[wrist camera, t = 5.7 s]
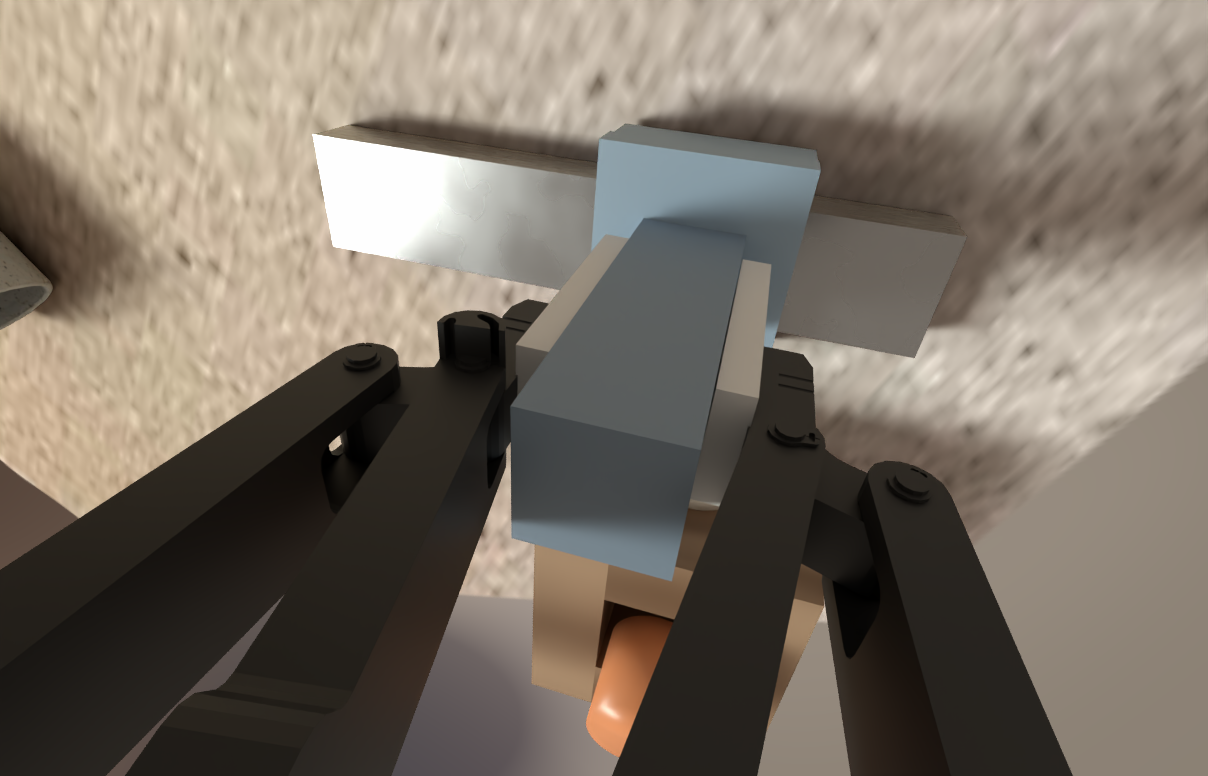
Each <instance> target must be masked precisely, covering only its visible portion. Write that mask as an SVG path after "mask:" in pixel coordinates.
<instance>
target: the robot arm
mask: <svg viewBox="0 0 1208 776" xmlns="http://www.w3.org/2000/svg"><path fill="white" fill-rule="evenodd" d="M628 239H629V238H624V237H618V236H613V235H607V234H606V235H605V236H604V237H603V238H602V239H601V241H600V242H599V243H598V244H597V246H596V247H595V248H594V249H593V250H592V252H591V253H590V254H589V255H588V257H587V258H586V259H585V260H584V261H583V263H582V264H581V265H580V266H579V268H578V269H577V270H576V271H575V273H574V274H573V275H572V276H571V277H570V279H569V280H568V281H567V282H566V284H565V285H564V286H563V287H562V288H561V290H560V291H559V292H558V293H557V295H556V296H555V297H554V298H553V300H552V301H551V302H550V303H549V304H548V303H543V302H539V301H534V300H529V299H527V300H525V301H523V302H521V303H518V304H516V305H514V306H512V307H511V308H510V309H509V310H508V311H507V312H506V313H505V314H504V315H503V318H500V317H498V316H496V315H494V314H491V313H487V312H483V311H469V310H467V311H460V312H454V313H451V314H449V315H446V316H444V317H443V318H441V319H440V320H439V321H438V322H437V327H438V340H439V353H440V359H439V361H438V362H437V364H436V365H435V367H399V360H398V355H397V354H396V352H395V351H394V350H393V349H391V348H389V347H387V346H385V345H380V344H374V343H366V344H364V343H358V344H355V345H351V346H347V347H344V348H342V349H340V350H338V351H335V352H334V353H332V354H331V355H329V356H327V357H326V358H324V359H323V360H321V361H320V362H318V363H317V364H315V365H314V366H312V367H311V368H309V369H308V370H306V371H304V372H303V373H301V374H300V375H298V376H297V377H295V378H294V379H292V380H291V381H289V382H288V383H286V384H285V385H283V386H281V387H280V388H278V389H277V390H275V391H274V392H272V393H271V394H269V395H268V396H266V397H265V398H263V399H262V400H260V401H258V402H257V403H255V404H254V405H252V406H251V407H249V408H248V409H246V410H245V411H243V412H242V413H240V414H239V415H237V416H235V417H234V418H232V419H231V420H229V421H228V422H226V423H225V424H223V425H222V426H220V427H219V428H217V429H216V430H214V431H212V432H211V433H209V434H208V435H206V436H205V437H203V438H202V439H200V440H199V441H197V442H196V443H194V444H193V445H191V446H189V447H188V448H186V449H185V450H183V451H182V452H180V453H179V454H177V455H176V456H174V457H173V458H171V459H170V460H168V461H166V462H165V463H163V464H162V465H160V466H159V467H157V468H156V469H154V470H153V471H151V472H150V473H148V474H147V475H145V476H143V477H142V478H140V479H139V480H137V481H136V482H134V483H133V484H131V485H130V486H128V487H127V488H125V489H124V490H122V491H120V492H119V493H117V494H116V495H114V496H113V497H111V498H110V499H108V500H107V501H105V502H104V503H102V504H101V505H99V506H97V507H96V508H94V509H93V510H91V511H90V512H88V513H87V514H85V515H84V516H82V517H81V518H79V519H78V520H76V521H74V522H73V523H71V524H70V525H68V526H67V527H65V528H64V529H62V530H61V531H59V532H58V533H56V534H55V535H53V536H51V537H50V538H48V539H47V540H46V541H44V542H42V543H41V544H39V545H38V546H36V547H35V548H33V549H32V550H30V551H29V552H27V553H25V554H24V555H22V556H21V557H19V558H18V559H16V560H15V561H13V562H12V563H10V564H9V565H7V566H5V567H4V568H2V569H1V570H0V776H106V775H107V774H108V773H109V772H110V771H111V770H112V769H113V768H114V767H115V766H116V765H117V764H118V763H119V762H120V761H121V760H122V759H123V758H124V757H125V755H127V754H128V753H129V752H130V750H132V748H133V747H134V746H135V745H136V744H137V743H138V742H139V741H140V740H141V739H142V738H143V737H144V736H145V735H146V734H147V733H148V732H149V731H150V730H151V729H152V728H153V727H154V726H155V725H156V724H157V723H158V722H159V721H160V720H161V719H162V718H163V717H164V716H165V715H166V714H167V713H168V712H169V711H170V710H171V709H172V708H173V707H174V706H175V705H176V704H177V703H178V702H179V701H180V700H181V699H182V698H183V697H184V696H185V695H186V694H187V693H188V691H190V690H191V688H192V687H194V686H195V684H196V683H197V682H198V681H199V680H200V679H201V678H202V677H203V676H204V675H205V674H206V673H207V672H208V671H209V670H210V669H211V668H212V667H213V666H214V665H215V664H216V663H217V662H218V661H219V660H220V659H221V658H222V657H223V656H224V655H225V654H226V653H227V652H228V651H229V650H230V649H231V648H232V647H233V646H234V645H235V644H236V643H237V642H238V641H239V640H240V639H241V638H242V637H243V636H244V635H245V634H246V633H247V632H248V631H249V630H250V628H252V627H253V626H254V625H255V623H257V621H258V620H259V619H260V618H261V617H262V616H263V615H264V614H265V613H266V612H267V611H268V610H269V609H270V608H271V607H272V606H273V605H274V604H275V603H276V602H277V601H278V600H279V599H280V598H281V597H282V596H283V595H284V594H285V595H284V596H283V598H282V599H281V601H280V602H279V604H278V605H277V607H276V609H275V610H274V612H273V613H272V615H271V616H270V618H269V619H268V621H267V622H266V624H265V625H264V627H263V628H262V630H261V631H260V633H259V634H258V636H257V638H256V639H255V641H254V642H253V643H252V645H251V646H250V648H249V650H248V651H247V653H246V654H245V656H244V657H243V659H242V660H241V662H240V663H239V665H238V666H237V668H236V669H235V671H234V672H233V674H232V675H231V676H230V677H229V679H228V680H227V681H226V682H225V683H224V684H223V685H221V686H220V687H219V688H217V689H216V690H210V691H204V692H199V693H194V694H193V695H191V696H190V697H189V698H187V699H186V700H184V701H183V702H182V703H180V704H179V705H178V706H177V707H176V708H175V709H174V711H173V712H172V713H171V714H170V715H169V716H168V718H167V719H166V720H165V721H164V722H163V723H162V725H161V726H160V727H159V729H158V730H157V731H156V733H155V734H154V736H153V737H152V738H151V740H150V741H149V743H148V744H147V745H146V747H145V748H144V750H143V751H142V753H141V754H140V755H139V757H138V758H137V759H136V761H135V762H134V764H133V765H132V767H131V768H130V770H129V771H128V772H127V774H126V775H125V776H391V775H392V773H393V770H394V767H395V764H396V762H397V759H398V756H399V753H400V751H401V748H402V746H403V743H404V740H405V737H406V735H407V732H408V729H409V727H410V724H411V721H412V719H413V716H414V713H415V710H416V708H417V705H418V702H419V700H420V697H421V694H422V692H423V689H424V686H425V683H426V681H427V678H428V676H429V673H430V670H431V667H432V665H433V662H434V659H435V657H436V654H437V651H438V649H439V645H440V643H441V640H442V637H443V635H444V632H445V630H446V627H447V624H448V621H449V619H450V616H451V613H452V611H453V608H454V605H455V603H456V600H457V597H458V595H459V592H460V589H461V587H462V584H463V581H464V578H465V576H466V573H467V570H468V568H469V565H470V562H471V560H472V557H473V554H474V552H475V549H476V546H477V543H478V541H479V538H480V535H481V533H482V530H483V527H484V525H485V522H486V519H487V516H488V514H489V511H490V508H491V506H492V503H493V500H494V498H495V495H496V492H497V489H498V487H499V484H500V481H501V479H502V476H503V473H504V471H505V468H506V448H507V447H508V445H509V444H510V442H511V415H510V406H511V405H512V403H513V402H514V400H515V399H516V397H517V396H518V395H519V393H520V392H521V390H522V389H523V388H524V386H525V385H526V383H527V382H528V381H529V379H530V378H531V376H532V375H533V373H534V372H535V371H536V369H537V368H538V366H539V365H540V364H541V362H542V361H543V359H544V358H545V357H546V355H547V354H548V352H549V351H550V349H551V348H552V347H553V345H554V344H555V342H556V341H557V340H558V338H559V337H560V335H561V334H562V333H563V331H564V330H565V328H566V327H567V326H568V324H569V323H570V321H571V320H572V318H573V317H574V316H575V314H576V313H577V311H578V310H579V309H580V307H581V306H582V304H583V303H584V302H585V300H586V299H587V297H588V296H589V294H590V293H591V292H592V290H593V289H594V287H595V286H596V285H597V283H598V282H599V280H600V279H601V278H602V276H603V275H604V273H605V272H606V270H607V269H608V268H609V266H610V265H611V263H612V262H613V261H614V259H615V258H616V256H617V255H618V254H619V252H620V251H621V249H622V248H623V246H624V245H625V244H626V242H627V241H628ZM770 274H771V264H766V263H761V262H755V261H750V260H744V259H743V260H742V265H741V269H740V273H739V278H738V282H737V286H736V290H735V295H734V299H733V303H732V308H731V312H730V316H729V321H728V325H727V330H726V335H725V340H724V344H723V349H722V354H721V358H720V363H719V368H718V373H717V377H716V382H715V387H714V391H713V396H712V401H711V406H710V410H709V415H708V420H707V425H706V429H705V434H704V439H703V443H702V448H701V453H700V457H699V462H698V466H697V471H696V475H695V480H694V484H693V489H692V493H691V498H690V499H692V500H696V501H700V502H704V503H708V504H712V505H716V506H719V509H718V511H717V514H716V516H715V519H714V521H713V524H712V526H711V529H710V531H709V534H708V536H707V539H706V541H705V544H704V546H703V549H702V551H701V554H700V556H699V559H698V561H697V564H696V566H695V569H694V571H693V574H692V576H691V579H690V582H689V584H688V587H687V589H686V592H685V594H684V597H683V599H682V602H681V604H680V607H679V609H678V612H677V614H676V617H675V619H674V622H673V624H672V627H671V629H670V632H669V634H668V637H667V639H666V642H665V644H664V647H663V649H662V652H661V654H660V657H659V659H658V662H657V664H656V667H655V669H654V672H653V674H652V677H651V679H650V682H649V684H648V687H647V689H646V692H645V694H644V697H643V699H642V702H641V704H640V707H639V710H638V712H637V715H636V717H635V720H634V722H633V725H632V727H631V730H630V732H629V735H628V737H627V740H626V742H625V745H624V747H623V750H622V752H621V755H620V757H619V760H618V762H617V765H616V767H615V770H614V772H613V775H612V776H757V774H758V769H759V764H760V759H761V754H762V750H763V745H764V740H765V735H766V730H767V726H768V721H769V716H770V711H771V706H772V702H773V697H774V692H775V687H776V682H777V678H778V673H779V668H780V663H781V658H782V654H783V649H784V644H785V639H786V634H787V630H788V625H789V620H790V615H791V610H792V605H793V601H794V596H795V591H796V586H797V581H798V577H799V572H800V567H801V564H803V565H805V566H807V567H809V568H810V569H812V570H814V571H816V572H818V573H820V574H822V588H823V594H824V601H825V607H826V614H827V621H828V627H829V633H830V640H831V647H832V654H833V660H834V666H835V672H836V680H837V687H838V693H839V700H840V707H841V713H842V720H843V726H844V733H845V739H846V746H847V753H848V759H849V766H850V772H851V776H1073V775H1072V773H1071V770H1070V768H1069V766H1068V764H1067V761H1066V759H1065V757H1064V754H1063V752H1062V750H1061V748H1060V745H1059V743H1058V741H1057V738H1056V736H1055V734H1054V731H1053V729H1052V727H1051V725H1050V722H1049V720H1048V718H1047V715H1046V713H1045V711H1044V709H1043V706H1042V704H1041V702H1040V699H1039V697H1038V695H1037V692H1036V690H1035V688H1034V686H1033V683H1032V681H1031V679H1030V676H1029V674H1028V672H1027V669H1026V667H1025V665H1024V663H1023V660H1022V658H1021V656H1020V653H1019V651H1018V649H1017V646H1016V645H1015V642H1014V640H1013V637H1012V635H1011V633H1010V630H1009V628H1008V626H1007V624H1006V621H1005V619H1004V617H1003V614H1002V612H1001V610H1000V607H999V605H998V603H997V601H996V598H995V596H994V594H993V592H992V589H991V587H990V584H989V582H988V580H987V578H986V575H985V573H984V571H983V568H982V566H981V564H980V562H979V559H978V557H977V555H976V552H975V550H974V548H973V545H972V543H971V541H970V538H969V536H968V534H967V532H966V529H965V527H964V525H963V522H962V520H961V518H960V516H959V513H958V511H957V509H956V506H955V504H954V502H953V499H952V497H951V495H950V493H949V492H948V491H947V489H946V488H945V486H944V485H943V484H942V483H941V482H940V481H939V480H937V479H936V478H935V477H934V476H932V475H931V474H929V473H928V472H926V471H924V470H922V469H920V468H918V467H916V466H913V465H909V464H906V463H902V462H895V461H884V462H880V463H877V464H874V465H873V466H872V467H871V469H870V470H869V471H868V473H866V472H864V471H861V470H859V469H857V468H855V467H852V466H850V465H848V464H846V463H844V462H842V461H841V460H839V459H837V458H836V457H834V456H833V455H832V454H830V453H829V452H828V451H827V450H826V449H825V440H824V437H823V436H822V434H821V433H820V432H819V430H818V429H817V428H816V424H815V402H814V394H813V393H814V383H813V381H814V380H813V367H812V366H811V364H810V363H809V362H808V360H807V359H806V358H805V356H804V355H803V354H799V353H794V352H789V351H784V350H779V349H774V348H770V347H765V346H764V338H765V327H766V317H767V306H768V295H769V285H770ZM339 435H340V438H341V443H342V444H341V445H340V446H339V447H338V448H337V449H335V450H333V451H330V450H329V444H330V443H331V442H332V441H333V440H334V439H335V438H337V437H338V436H339Z"/></svg>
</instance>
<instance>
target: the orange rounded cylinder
mask: <svg viewBox="0 0 1208 776" xmlns="http://www.w3.org/2000/svg"><path fill="white" fill-rule="evenodd" d="M672 624H673V622H670V621H668V620H665V619H662V618H658V617H653V616H633V617H628V618H626V619H623V620H621V621H620V622H619V623H617V624H616V625H615V627H614V629H613V631H612V634H611V638H610V641H609V645H608V648H607V651H606V655H605V658H604V662H603V665H602V669H601V672H600V675H599V679H598V682H597V686H596V689H595V693H594V696H593V699H592V703H591V706H590V710H589V713H588V717H587V720H586V726H587V729H588V732H589V734H590V735H591V737H592V738H593V739H594V740H595V741H596V742H597V743H598V744H599V745H600V746H601V747H602V748H604V749H605V750H607V751H608V752H610V753H612V754H613V755H616V756H617V757H620V755H621V752H622V750H623V747H624V745H625V742H626V740H627V737H628V735H629V732H630V730H631V727H632V725H633V722H634V720H635V717H636V715H637V712H638V710H639V707H640V704H641V702H642V699H643V697H644V694H645V692H646V689H647V687H648V684H649V682H650V679H651V677H652V674H653V672H654V669H655V667H656V664H657V662H658V659H659V657H660V654H661V652H662V649H663V647H664V644H665V642H666V639H667V637H668V634H669V632H670V629H671V627H672Z"/></svg>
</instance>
